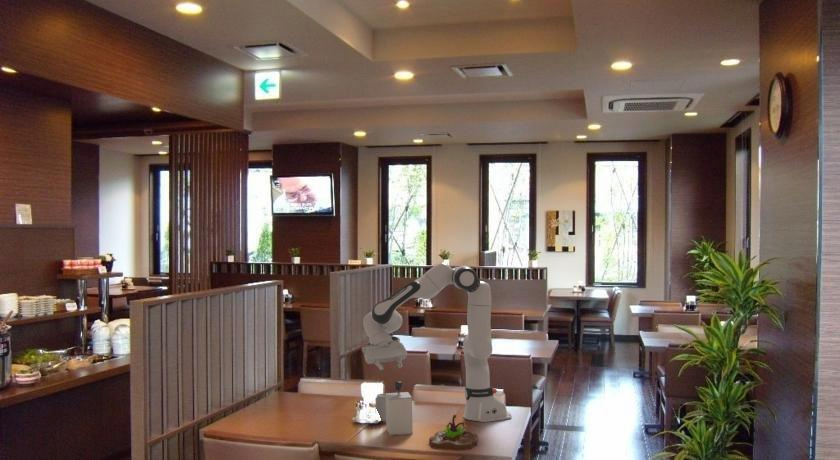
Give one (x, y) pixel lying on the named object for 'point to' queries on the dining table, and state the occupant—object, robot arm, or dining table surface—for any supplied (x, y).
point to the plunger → (398, 386)
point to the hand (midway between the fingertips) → (391, 368)
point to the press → (399, 414)
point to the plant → (454, 438)
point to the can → (381, 406)
